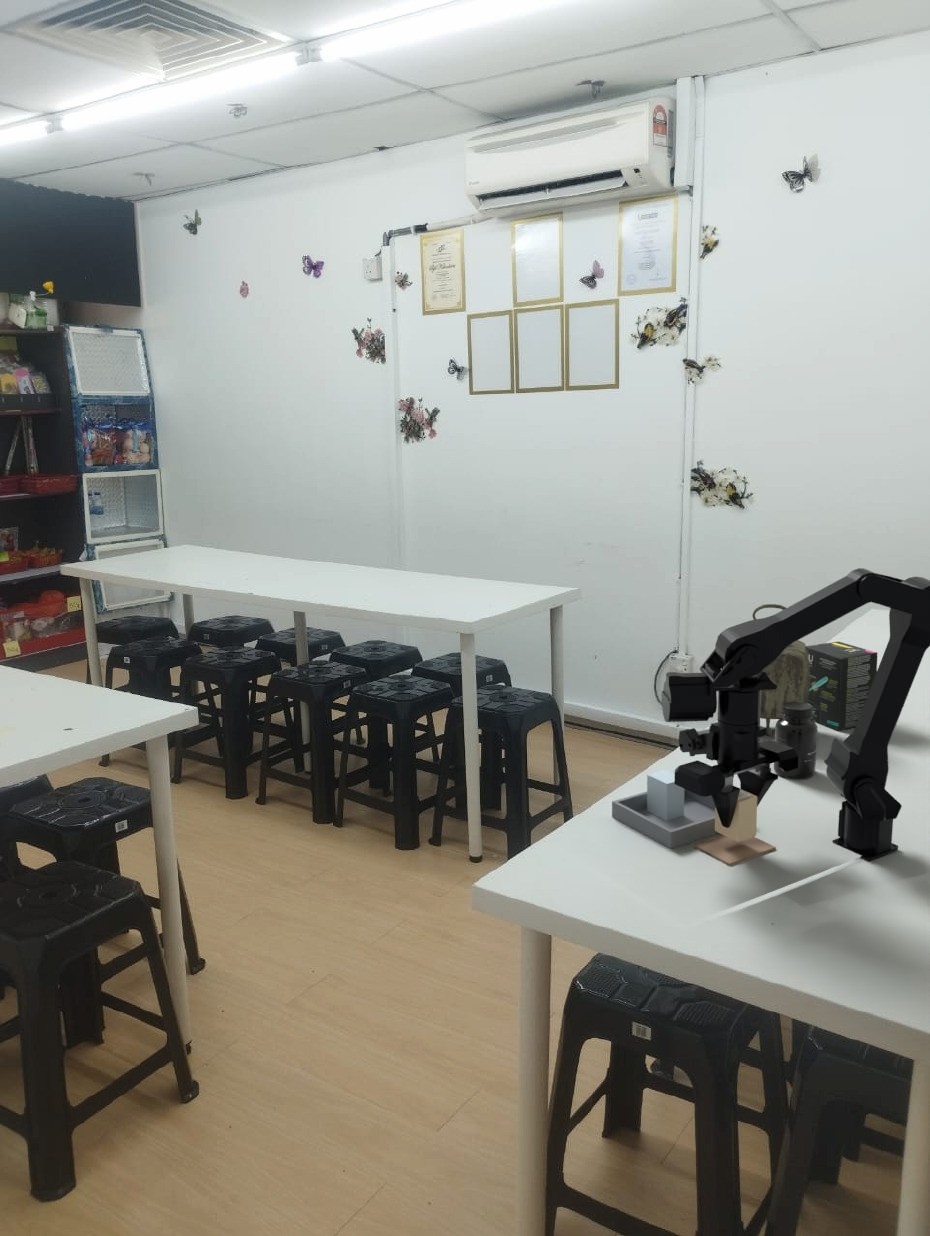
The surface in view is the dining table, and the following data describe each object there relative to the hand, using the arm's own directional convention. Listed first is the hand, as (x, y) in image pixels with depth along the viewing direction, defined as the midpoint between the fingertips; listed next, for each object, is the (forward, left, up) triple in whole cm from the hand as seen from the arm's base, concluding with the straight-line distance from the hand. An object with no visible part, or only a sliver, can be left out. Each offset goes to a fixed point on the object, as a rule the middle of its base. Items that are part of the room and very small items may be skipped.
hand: (735, 823), depth 138 cm
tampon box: (+30, -58, -4) cm, 65 cm away
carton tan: (0, 0, -2) cm, 2 cm away
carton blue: (+15, 0, -4) cm, 15 cm away
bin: (+12, 0, -4) cm, 12 cm away
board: (0, 0, -4) cm, 4 cm away
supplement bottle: (+16, -30, -4) cm, 34 cm away
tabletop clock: (+33, -42, -4) cm, 53 cm away
